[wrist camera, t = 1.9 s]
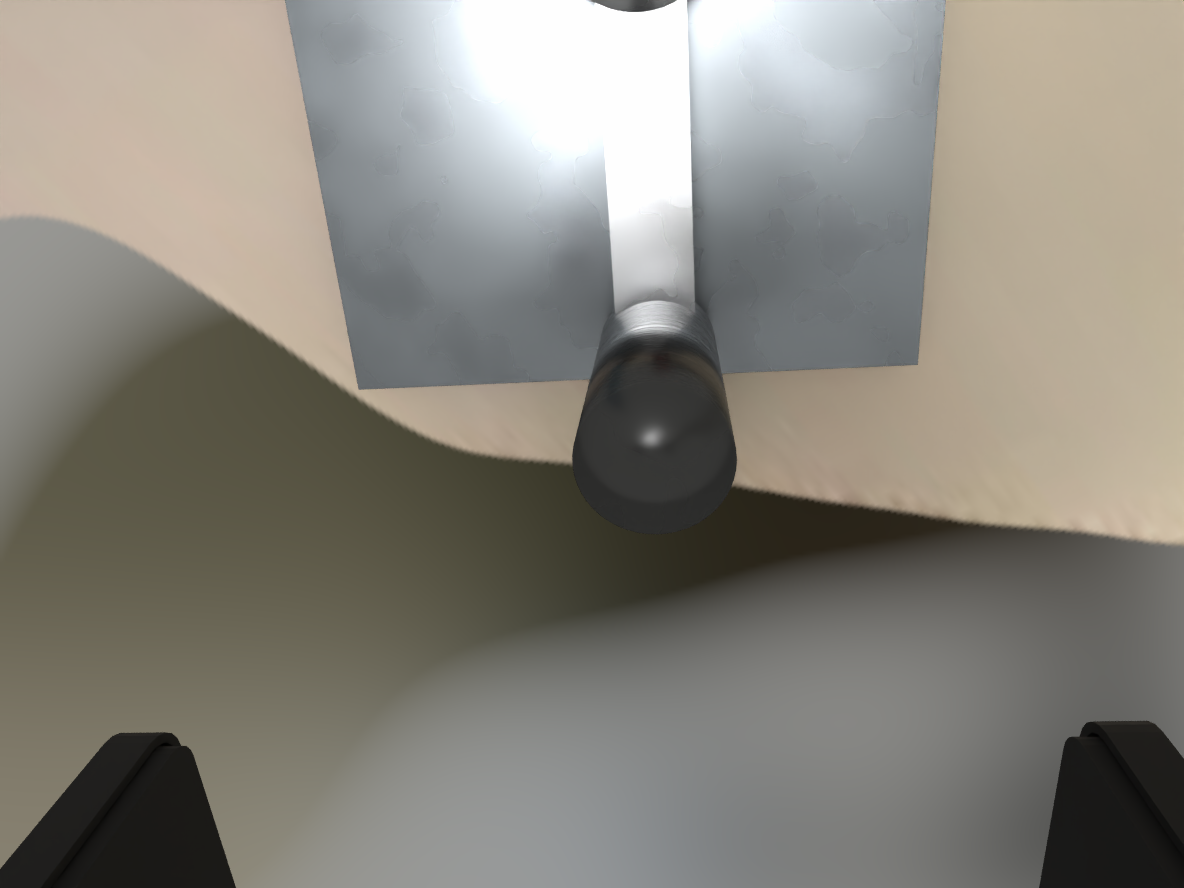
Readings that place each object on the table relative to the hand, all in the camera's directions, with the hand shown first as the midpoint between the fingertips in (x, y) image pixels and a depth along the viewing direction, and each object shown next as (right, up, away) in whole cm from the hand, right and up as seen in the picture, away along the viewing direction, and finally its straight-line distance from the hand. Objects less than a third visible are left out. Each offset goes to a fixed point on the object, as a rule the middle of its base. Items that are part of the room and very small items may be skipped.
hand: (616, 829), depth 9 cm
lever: (+1, +14, +14) cm, 20 cm away
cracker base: (0, +16, +15) cm, 22 cm away
